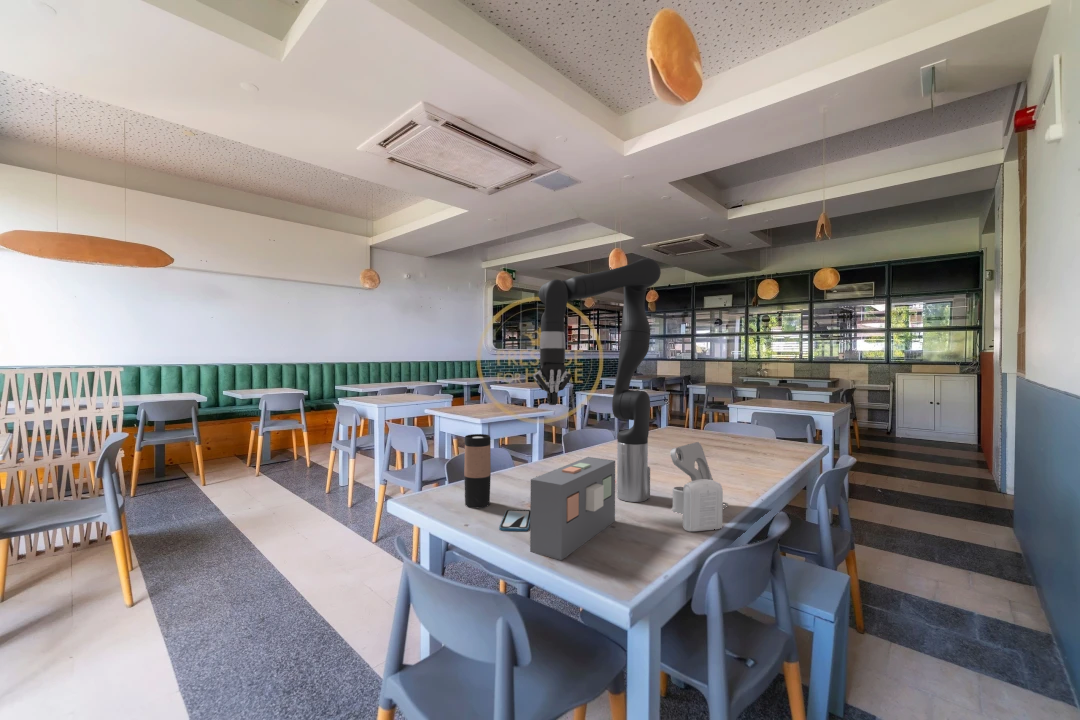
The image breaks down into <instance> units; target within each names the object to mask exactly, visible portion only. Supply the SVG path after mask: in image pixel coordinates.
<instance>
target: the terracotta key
mask: <svg viewBox="0 0 1080 720" xmlns="http://www.w3.org/2000/svg"><path fill="white" fill-rule="evenodd" d="M578 515H579V493H577V492H576V493H574V494H572V495H570V496H568V497H567V522H568V521H569V520H571V519H573V518H574V517H576V516H578Z"/></svg>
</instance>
